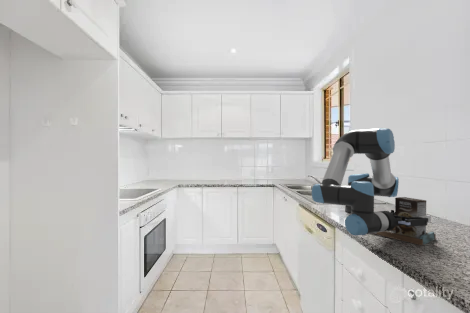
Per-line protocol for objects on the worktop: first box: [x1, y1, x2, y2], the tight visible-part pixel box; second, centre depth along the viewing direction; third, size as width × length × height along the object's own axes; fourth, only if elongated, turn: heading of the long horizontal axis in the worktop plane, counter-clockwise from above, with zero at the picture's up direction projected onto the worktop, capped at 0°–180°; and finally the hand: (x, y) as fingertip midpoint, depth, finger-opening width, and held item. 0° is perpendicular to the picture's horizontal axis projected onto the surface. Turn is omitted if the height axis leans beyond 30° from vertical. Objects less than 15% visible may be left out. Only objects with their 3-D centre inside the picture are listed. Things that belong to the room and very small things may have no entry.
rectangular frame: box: [372, 228, 437, 246], centre depth 110 cm, size 13×22×3 cm, turn 34°
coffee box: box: [394, 196, 427, 239], centre depth 106 cm, size 9×6×16 cm
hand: (417, 215), depth 108 cm, fingers closed on coffee box, 9 cm apart
